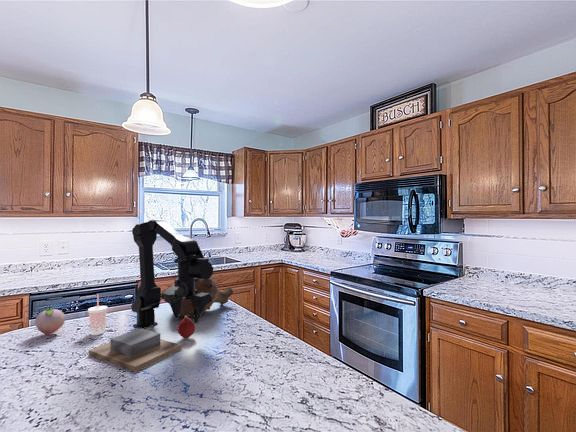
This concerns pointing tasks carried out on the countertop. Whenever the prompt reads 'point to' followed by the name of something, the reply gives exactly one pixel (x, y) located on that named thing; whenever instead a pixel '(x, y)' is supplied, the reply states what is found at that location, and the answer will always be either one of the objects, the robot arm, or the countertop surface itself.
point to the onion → (186, 327)
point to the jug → (205, 287)
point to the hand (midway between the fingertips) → (186, 320)
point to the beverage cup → (97, 318)
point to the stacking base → (136, 359)
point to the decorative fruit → (50, 321)
